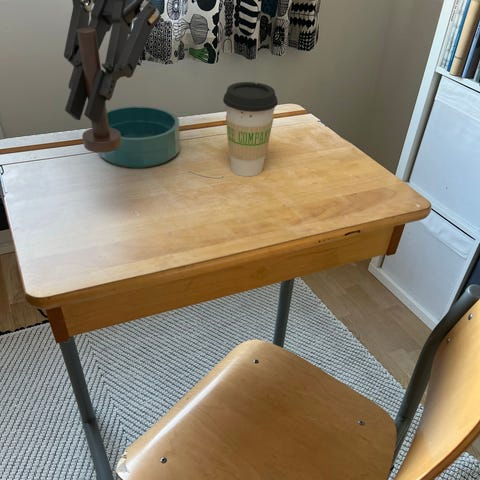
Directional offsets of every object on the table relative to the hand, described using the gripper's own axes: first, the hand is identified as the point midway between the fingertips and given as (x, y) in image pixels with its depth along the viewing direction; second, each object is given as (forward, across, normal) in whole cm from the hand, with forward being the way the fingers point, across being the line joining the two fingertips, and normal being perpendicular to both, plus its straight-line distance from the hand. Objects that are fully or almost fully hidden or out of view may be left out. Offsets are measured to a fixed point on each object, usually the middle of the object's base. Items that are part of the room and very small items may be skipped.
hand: (82, 117), depth 71 cm
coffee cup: (-8, -14, -34) cm, 38 cm away
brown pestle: (+1, 0, -7) cm, 7 cm away
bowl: (-7, +9, -32) cm, 34 cm away
